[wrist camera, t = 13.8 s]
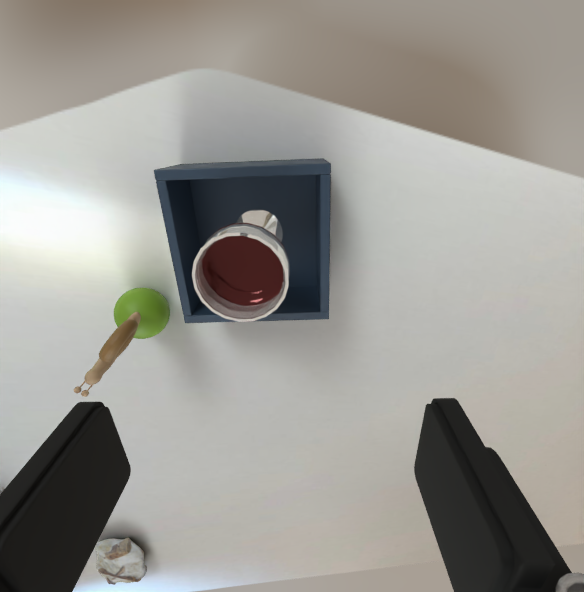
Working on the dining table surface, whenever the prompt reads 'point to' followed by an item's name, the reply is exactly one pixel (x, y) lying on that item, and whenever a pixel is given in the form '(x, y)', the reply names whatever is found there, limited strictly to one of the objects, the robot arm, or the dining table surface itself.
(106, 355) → the snail on green ball
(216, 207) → the box
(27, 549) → the robot arm
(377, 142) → the dining table surface
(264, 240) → the wineglass
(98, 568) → the stone
